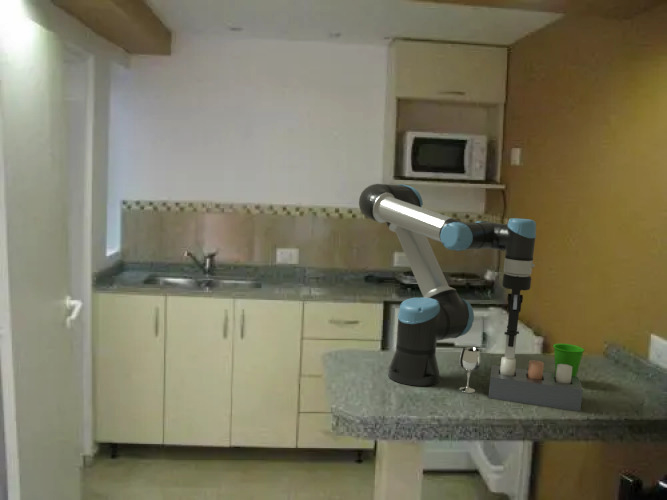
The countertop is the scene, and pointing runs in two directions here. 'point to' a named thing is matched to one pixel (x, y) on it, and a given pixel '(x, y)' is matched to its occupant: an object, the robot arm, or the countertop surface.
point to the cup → (568, 356)
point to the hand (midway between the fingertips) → (509, 356)
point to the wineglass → (469, 364)
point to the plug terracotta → (535, 369)
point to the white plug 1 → (508, 366)
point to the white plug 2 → (563, 373)
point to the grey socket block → (535, 389)
